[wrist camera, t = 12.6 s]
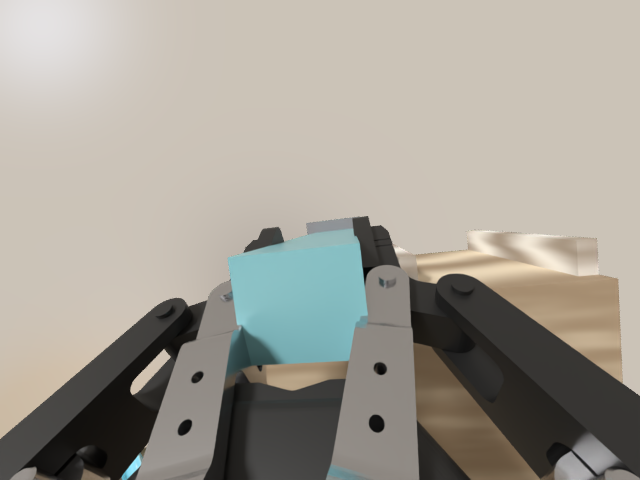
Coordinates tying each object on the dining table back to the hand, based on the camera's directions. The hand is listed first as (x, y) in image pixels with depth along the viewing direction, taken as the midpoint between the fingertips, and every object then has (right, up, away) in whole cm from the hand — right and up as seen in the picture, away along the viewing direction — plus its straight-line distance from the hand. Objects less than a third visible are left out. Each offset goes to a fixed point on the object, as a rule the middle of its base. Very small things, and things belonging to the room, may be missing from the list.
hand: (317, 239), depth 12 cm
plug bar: (+1, -3, +5) cm, 6 cm away
